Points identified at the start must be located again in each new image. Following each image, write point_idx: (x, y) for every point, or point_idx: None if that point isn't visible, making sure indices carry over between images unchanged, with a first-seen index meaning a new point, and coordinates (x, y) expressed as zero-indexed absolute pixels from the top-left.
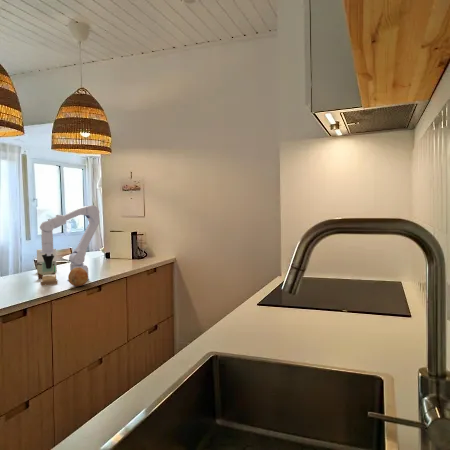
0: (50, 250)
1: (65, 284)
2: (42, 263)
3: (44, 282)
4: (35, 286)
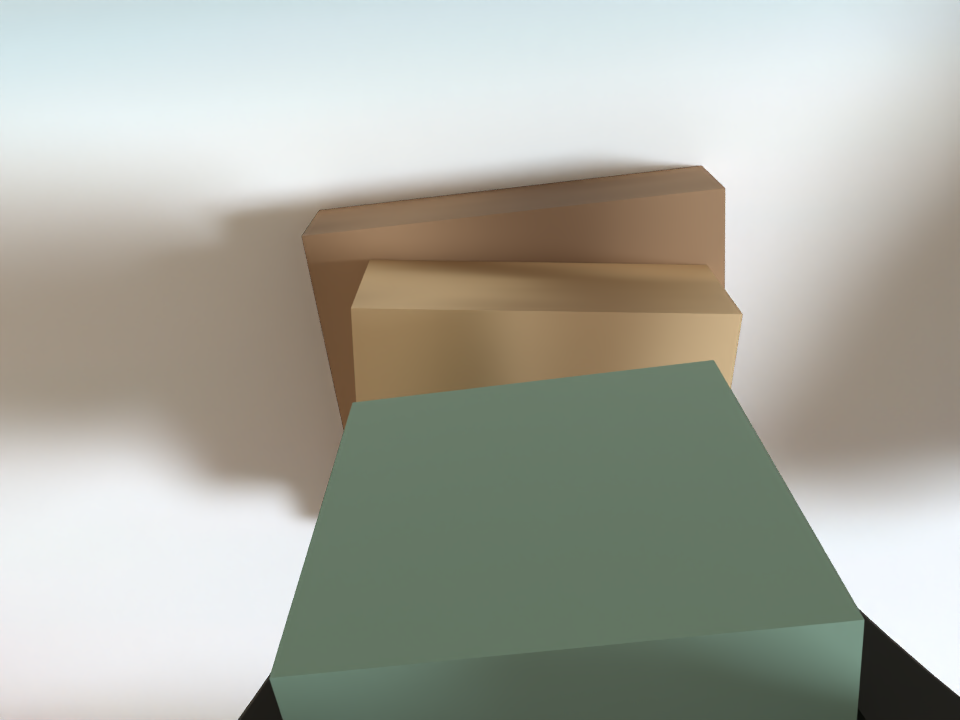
0: None
1: (262, 640)
2: (318, 642)
3: (318, 304)
4: (241, 70)
